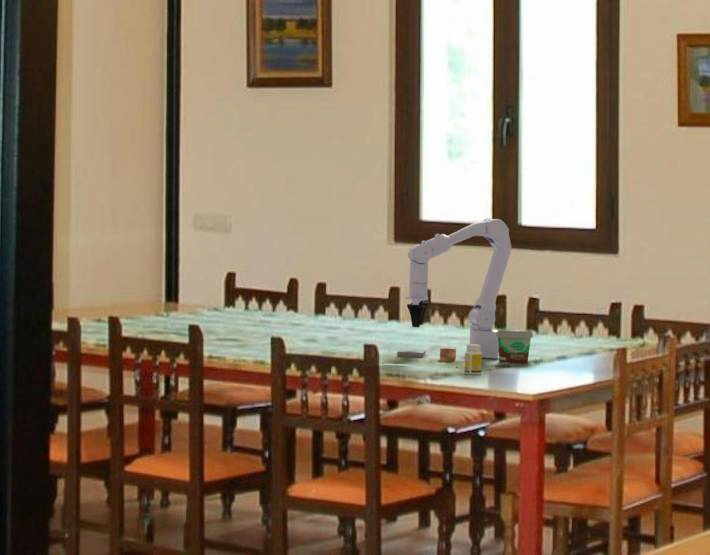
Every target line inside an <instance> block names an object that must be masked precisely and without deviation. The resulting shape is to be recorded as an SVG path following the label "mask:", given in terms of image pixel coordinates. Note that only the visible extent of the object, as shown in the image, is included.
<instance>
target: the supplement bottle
mask: <svg viewBox="0 0 710 555" xmlns="http://www.w3.org/2000/svg"><path fill="white" fill-rule="evenodd" d="M480 349H481V345H478V344H470V343H468V344H466V351H465V353H464V374H465V375H471V376H476V375H481V374H482V361H483V358H482V353H481V352H480Z"/></svg>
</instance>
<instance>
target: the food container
mask: <svg viewBox="0 0 710 555" xmlns="http://www.w3.org/2000/svg"><path fill="white" fill-rule="evenodd" d="M497 330H498V332H497V334H496V336H497V337H498V349H499V353H498V362H500V363H503V362H510V363H509V364H527V363H528V362H529V355H530V354H529V353H530V346H531V339H532V338H534V335H533V330H532V329H530V328H529V329H528V331H525V330H524V331H522V330H521V331H517V330H501V329H497Z"/></svg>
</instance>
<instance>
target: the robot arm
mask: <svg viewBox="0 0 710 555" xmlns="http://www.w3.org/2000/svg"><path fill="white" fill-rule="evenodd" d="M509 232H510V229H509V227H508V226H507V225H506V223H505V221H503V220H501V219H500V218H499V219H498V218H495V219H493V218H491V217H490V218H485V219H483V220H478V221H476V222H472V223H471V224H469V225H467V226H465V227H463V228H461V229H459V230H457V231H455V232H453V233H450V234H448V235H446V234H444V233H441V234H440V233H436V234H435V235H434V237H432V238H430V239H427V240H422V241H421V242H420V243H421V244H414V245H412V246H411V248H409V251H408V253H407V256H408V259H409V260H410V262H409V266H410V267H409V285H408V286H409V292H408V295H406V296H404V298H405V299H406V300H410V301H411V302H410V303H408V304H406V305H407V306H406V307H407V309H408V311H409V315H410V320H411V326H412V328H420V326H422V325H423V324H424V319H425V314H426V312H427V308H428V306H429V304H430V303H429V301H428V300H429V297H428V289H429V288H428V287H429V286H428V285H429V282H428V281H429V280H428V279H429V262H430V260H431V259H433V258H437V257H438V256H441V255H443V254H445V253H447V252H449V251H451V249H452V246H453V245H455V244H457V243H460V242H462V241H465V240H468V239H470V238H472V237H473V238H474V237H484V238H485V239H486V240H487V241H488V242H489V244H490V246H491V247H492V248H493V254H492V255H491V259H490V263H489V266H488V270H487V272H486V276H485V278H484V282H483V285H482V288H481V291H480V295H479V297H478V298H477V300H476V301H475V303H474V306H473V307H472V308H471V309H470V311H469V313H468V320H469V322H470V324H471V325H470V328H469V344H478V345H481V349H480V352H481V353H482V359H499V349H498V337H497V336H496V334H497V332H498V330H499V329H494V327H493V326H494V325H495V322H496V310H497V306H496V301H497V297H498V293H499V290H500V287H501V285H502V282H503V278H504V275H505V272H506V267H507V265H508V262H509V259H510V255H511V253H512V243H511V238H510V234H509Z"/></svg>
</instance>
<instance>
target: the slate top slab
mask: <svg viewBox="0 0 710 555" xmlns="http://www.w3.org/2000/svg"><path fill="white" fill-rule="evenodd" d="M396 354H397V357H396V358H404V357H416V358H415V359H424V358H423V357H424V356H425V354H426V350H425V349H411V348H410V349H409V348H408V349H407V348H406V349H405V348H399V349H398V351H397V352H396Z"/></svg>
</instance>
